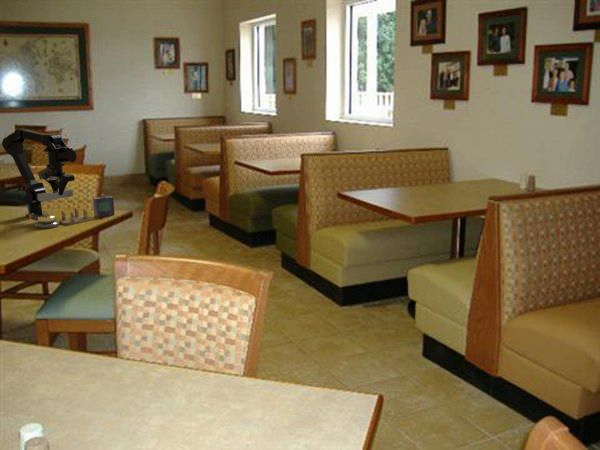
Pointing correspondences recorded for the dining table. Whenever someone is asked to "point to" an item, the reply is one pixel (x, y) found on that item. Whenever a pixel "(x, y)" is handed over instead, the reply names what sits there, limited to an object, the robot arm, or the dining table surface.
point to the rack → (74, 218)
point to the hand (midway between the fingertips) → (58, 195)
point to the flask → (103, 206)
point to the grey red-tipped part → (42, 218)
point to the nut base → (46, 226)
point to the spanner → (54, 195)
